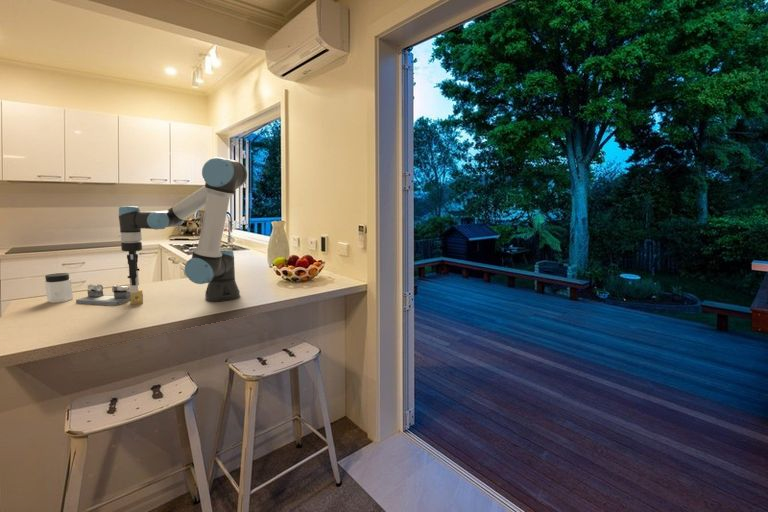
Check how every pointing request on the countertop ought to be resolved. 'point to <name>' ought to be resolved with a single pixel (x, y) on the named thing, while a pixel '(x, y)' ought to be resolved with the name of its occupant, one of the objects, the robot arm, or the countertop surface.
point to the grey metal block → (121, 292)
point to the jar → (58, 287)
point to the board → (103, 300)
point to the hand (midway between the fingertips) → (134, 288)
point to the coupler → (136, 297)
